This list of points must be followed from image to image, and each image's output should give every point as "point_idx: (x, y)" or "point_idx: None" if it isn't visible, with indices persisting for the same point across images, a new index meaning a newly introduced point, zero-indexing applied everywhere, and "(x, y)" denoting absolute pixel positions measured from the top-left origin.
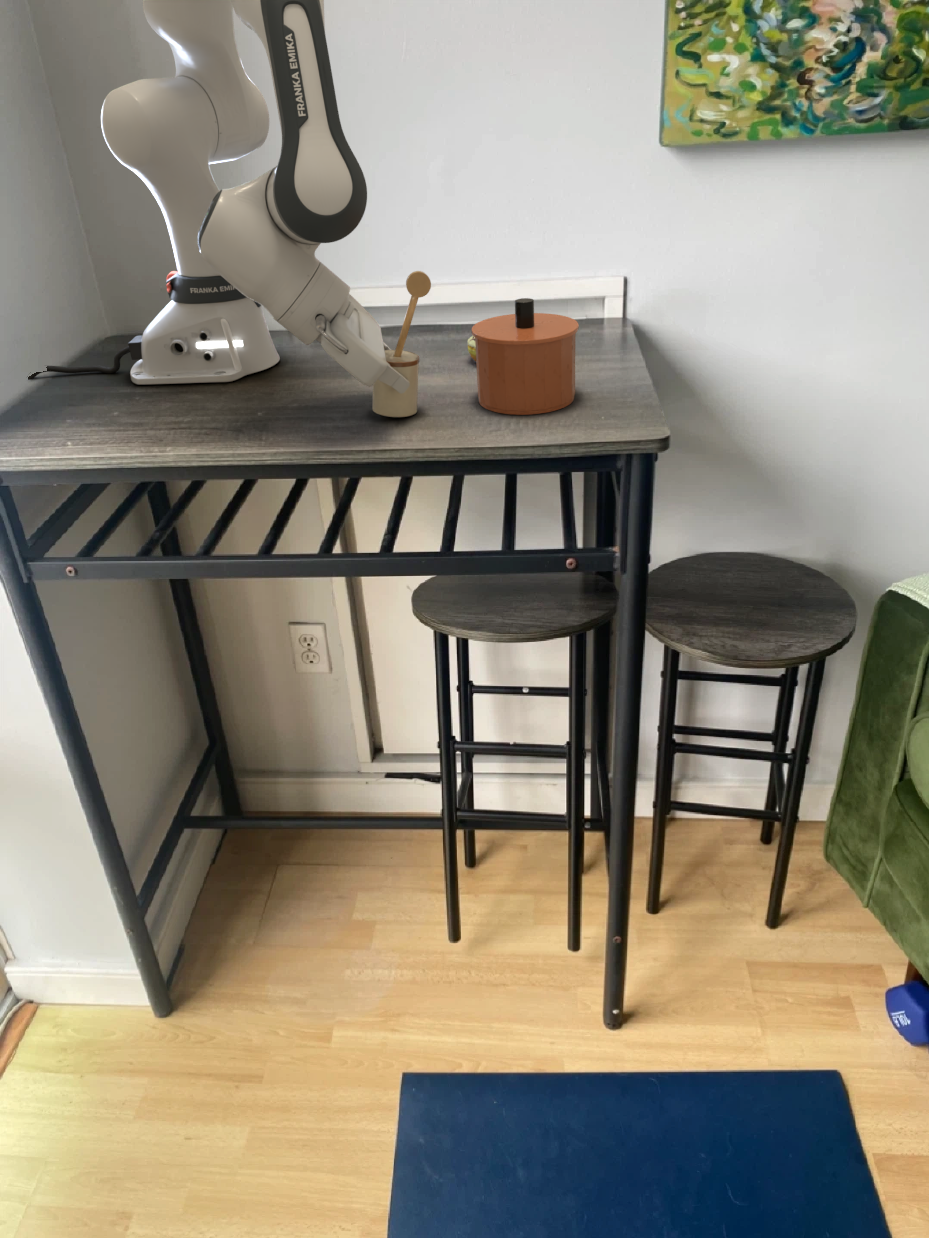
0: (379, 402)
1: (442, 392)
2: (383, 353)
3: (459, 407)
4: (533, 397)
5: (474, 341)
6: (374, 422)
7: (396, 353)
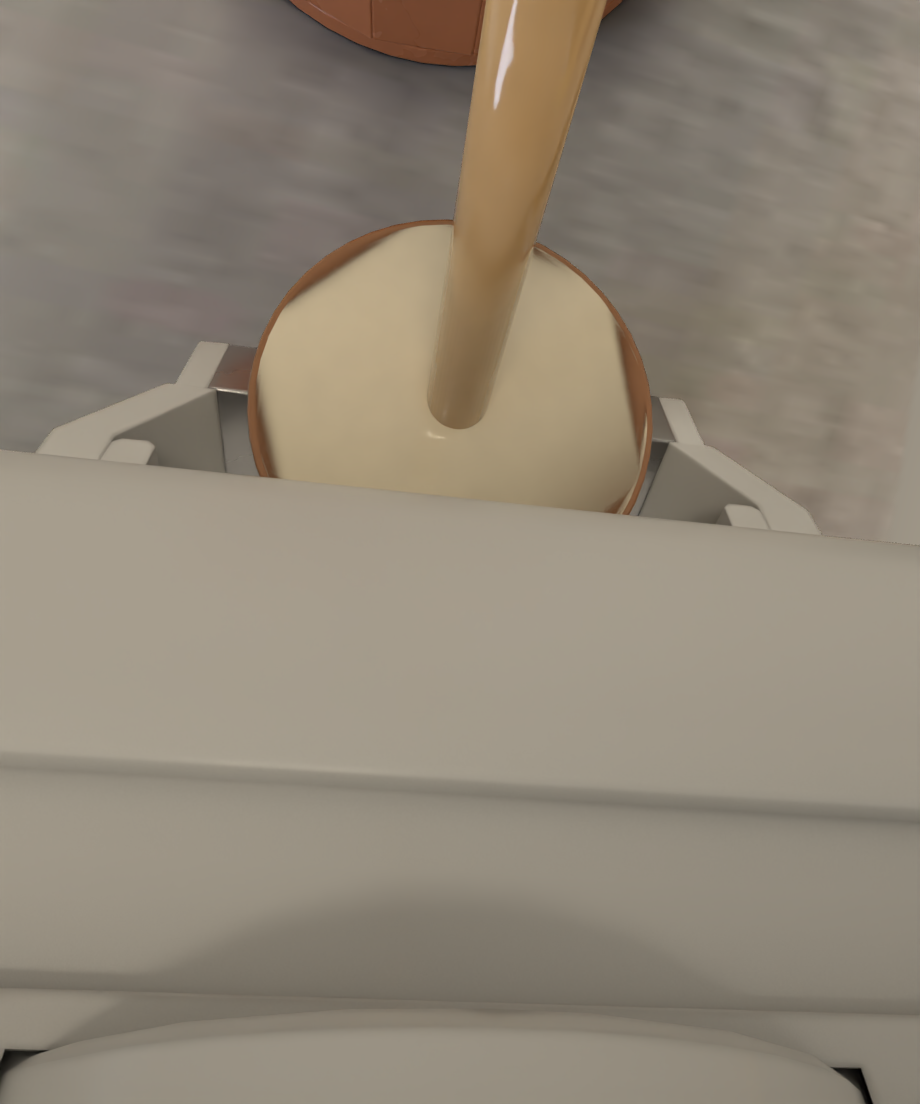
0: None
1: (154, 195)
2: (876, 553)
3: (442, 175)
4: None
5: None
6: None
7: (486, 399)
